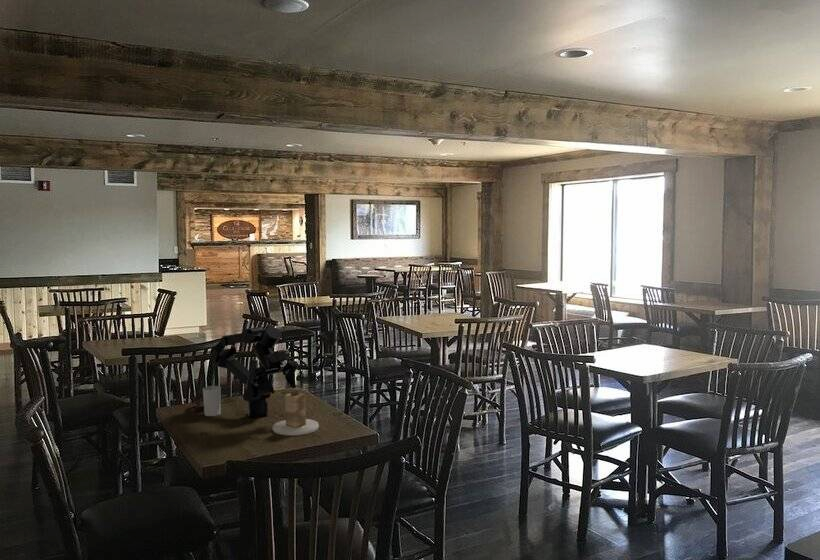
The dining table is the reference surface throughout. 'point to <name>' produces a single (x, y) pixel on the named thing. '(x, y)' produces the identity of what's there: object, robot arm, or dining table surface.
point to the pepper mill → (295, 408)
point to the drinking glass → (212, 400)
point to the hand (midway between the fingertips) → (284, 390)
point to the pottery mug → (198, 398)
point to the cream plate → (289, 431)
